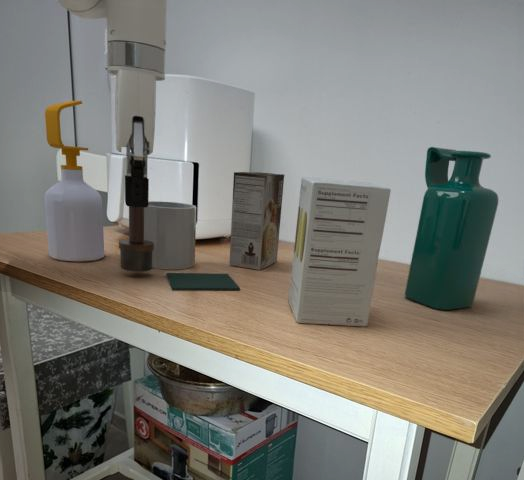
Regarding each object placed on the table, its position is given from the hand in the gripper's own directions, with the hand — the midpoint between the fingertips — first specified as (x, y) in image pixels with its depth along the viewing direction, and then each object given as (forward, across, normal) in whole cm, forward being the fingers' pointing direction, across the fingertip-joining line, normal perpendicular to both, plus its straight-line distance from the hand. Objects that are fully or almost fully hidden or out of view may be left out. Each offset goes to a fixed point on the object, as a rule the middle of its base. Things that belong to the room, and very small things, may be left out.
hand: (136, 204), depth 72 cm
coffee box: (+11, -10, +22) cm, 26 cm away
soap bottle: (+11, -13, -9) cm, 19 cm away
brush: (+10, 0, 0) cm, 10 cm away
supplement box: (+10, +20, +24) cm, 33 cm away
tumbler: (+11, -9, +6) cm, 15 cm away
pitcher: (+10, +14, +45) cm, 48 cm away
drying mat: (+11, +4, +10) cm, 15 cm away
